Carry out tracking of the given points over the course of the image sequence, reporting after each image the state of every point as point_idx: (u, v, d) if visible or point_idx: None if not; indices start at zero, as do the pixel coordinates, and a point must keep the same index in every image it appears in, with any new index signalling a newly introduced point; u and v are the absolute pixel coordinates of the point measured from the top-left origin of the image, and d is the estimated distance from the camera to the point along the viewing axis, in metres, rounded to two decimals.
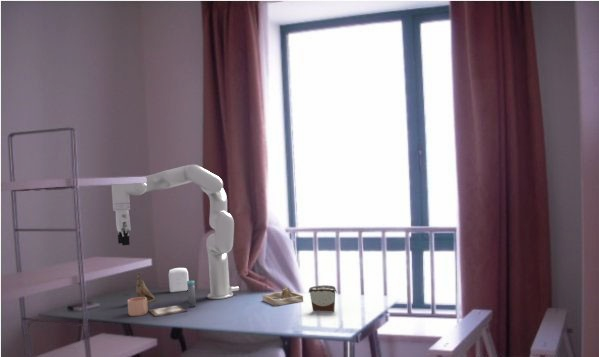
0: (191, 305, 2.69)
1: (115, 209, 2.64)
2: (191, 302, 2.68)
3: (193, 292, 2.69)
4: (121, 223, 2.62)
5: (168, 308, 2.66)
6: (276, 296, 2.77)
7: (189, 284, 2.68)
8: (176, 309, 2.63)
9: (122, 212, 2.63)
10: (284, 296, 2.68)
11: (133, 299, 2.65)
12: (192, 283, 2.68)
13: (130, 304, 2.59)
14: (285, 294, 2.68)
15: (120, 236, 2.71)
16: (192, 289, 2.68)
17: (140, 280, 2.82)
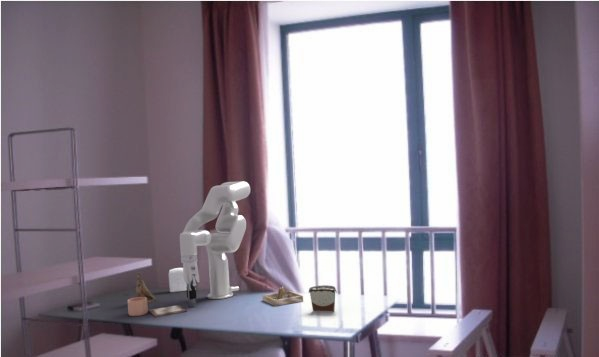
0: (191, 305, 2.69)
1: (184, 261, 2.66)
2: (191, 302, 2.68)
3: None
4: (190, 275, 2.65)
5: (168, 308, 2.66)
6: (276, 296, 2.77)
7: None
8: (176, 309, 2.63)
9: (191, 264, 2.65)
10: (280, 296, 2.69)
11: (133, 299, 2.65)
12: None
13: (130, 304, 2.59)
14: (281, 294, 2.69)
15: None
16: None
17: (140, 280, 2.82)
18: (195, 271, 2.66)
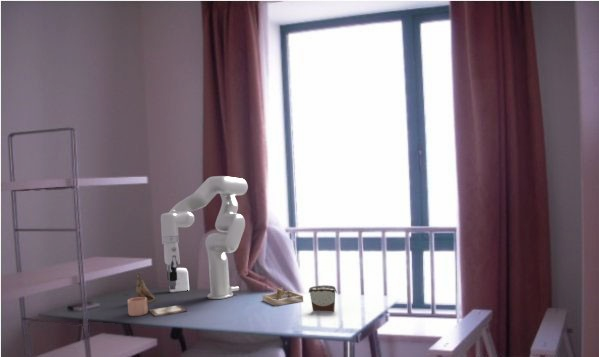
0: (171, 287, 2.63)
1: (164, 242, 2.61)
2: (171, 284, 2.63)
3: None
4: (171, 256, 2.59)
5: (168, 308, 2.66)
6: None
7: None
8: (176, 309, 2.63)
9: (172, 245, 2.60)
10: (279, 296, 2.69)
11: (133, 299, 2.65)
12: None
13: (130, 304, 2.59)
14: (280, 294, 2.69)
15: None
16: None
17: (140, 280, 2.82)
18: (176, 252, 2.61)
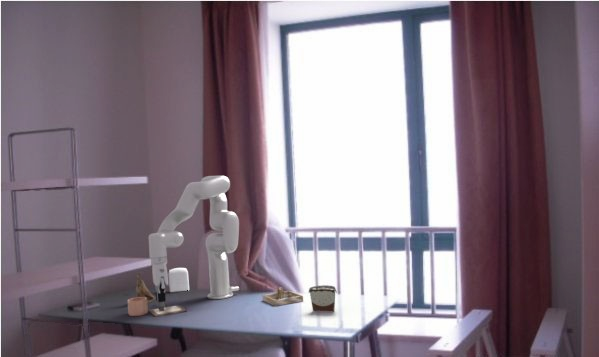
0: (160, 308, 2.61)
1: (152, 263, 2.59)
2: (160, 305, 2.61)
3: None
4: (159, 278, 2.57)
5: (168, 308, 2.66)
6: None
7: None
8: (176, 309, 2.63)
9: (160, 266, 2.58)
10: (279, 296, 2.69)
11: (133, 299, 2.65)
12: None
13: (130, 304, 2.59)
14: (280, 294, 2.69)
15: None
16: None
17: (140, 280, 2.82)
18: (164, 273, 2.58)
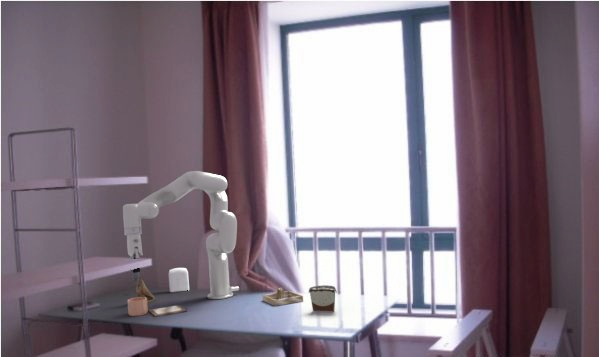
0: (134, 279, 2.61)
1: (126, 233, 2.59)
2: (134, 276, 2.61)
3: None
4: (133, 248, 2.57)
5: (168, 308, 2.66)
6: None
7: None
8: (176, 309, 2.63)
9: (134, 237, 2.58)
10: (279, 296, 2.69)
11: (133, 299, 2.65)
12: None
13: (130, 304, 2.59)
14: (280, 294, 2.69)
15: None
16: None
17: (140, 280, 2.82)
18: (138, 243, 2.58)
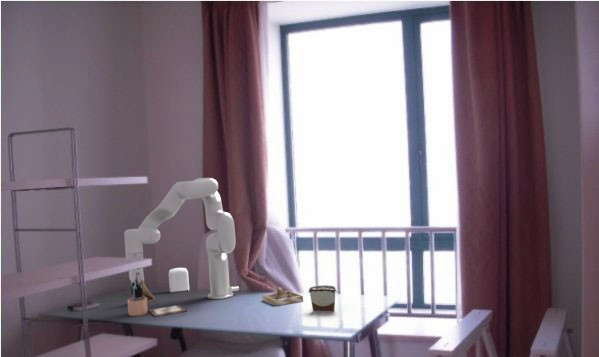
0: None
1: None
2: None
3: None
4: (134, 274, 2.57)
5: (168, 308, 2.66)
6: None
7: (134, 289, 2.60)
8: (176, 309, 2.63)
9: None
10: (279, 296, 2.69)
11: None
12: None
13: (130, 304, 2.59)
14: (280, 294, 2.69)
15: None
16: None
17: None
18: (140, 269, 2.58)
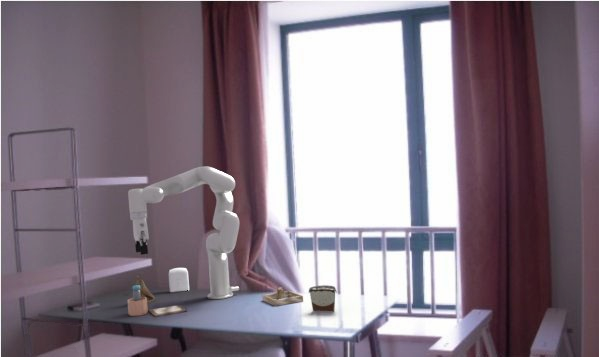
0: None
1: (132, 218, 2.61)
2: None
3: (138, 297, 2.61)
4: (139, 232, 2.60)
5: (168, 308, 2.66)
6: None
7: (134, 289, 2.61)
8: (176, 309, 2.63)
9: (140, 221, 2.61)
10: (279, 296, 2.69)
11: None
12: (137, 288, 2.61)
13: (130, 304, 2.59)
14: (280, 294, 2.69)
15: (138, 245, 2.69)
16: (137, 294, 2.61)
17: (140, 280, 2.82)
18: (144, 228, 2.61)
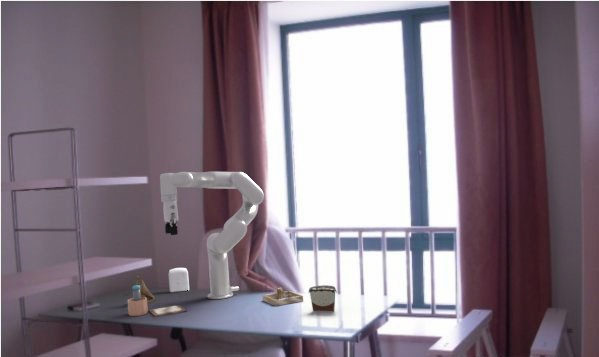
0: None
1: (164, 200, 2.76)
2: None
3: (138, 297, 2.61)
4: (170, 214, 2.75)
5: (168, 308, 2.66)
6: None
7: (134, 289, 2.61)
8: (176, 309, 2.63)
9: (170, 203, 2.75)
10: (279, 296, 2.69)
11: None
12: (137, 288, 2.61)
13: (130, 304, 2.59)
14: (280, 294, 2.69)
15: (167, 226, 2.84)
16: (137, 294, 2.61)
17: (140, 280, 2.82)
18: (174, 210, 2.76)
